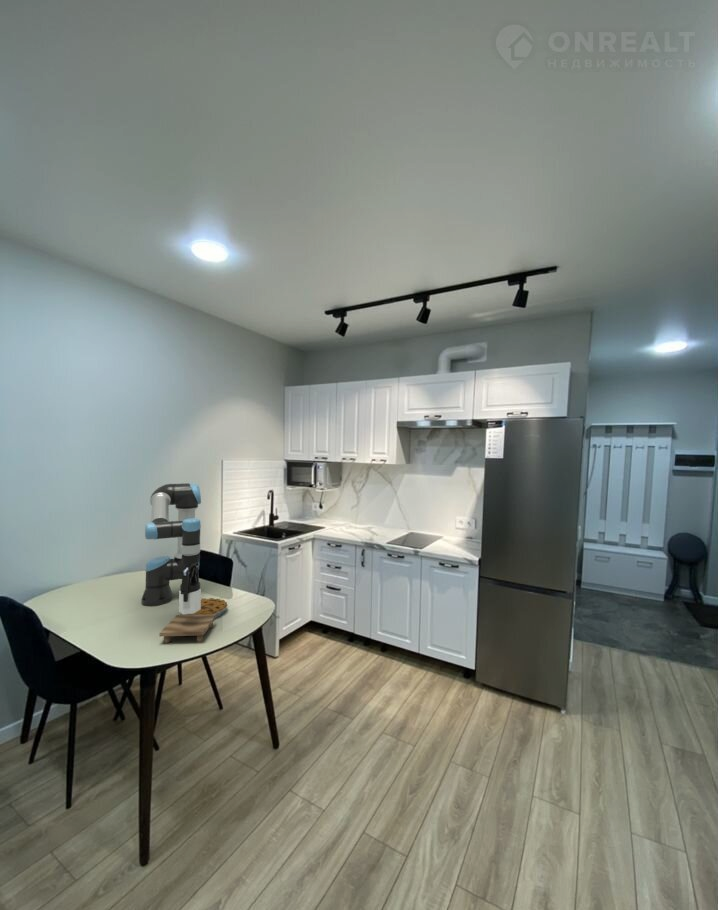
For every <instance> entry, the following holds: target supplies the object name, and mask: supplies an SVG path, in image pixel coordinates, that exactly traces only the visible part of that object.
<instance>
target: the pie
mask: <svg viewBox="0 0 718 910" xmlns="http://www.w3.org/2000/svg"><path fill="white" fill-rule="evenodd" d="M227 607H228V602H227V601H225V600H224V599H221V598H214V597H213V598H212V597H209V598H203V597H201V609H200V610H199V611H197V612H196V613H194V614H185V615H201V614H216V618H219V617H221V616H222V615H223V614H224V612H226V609H227ZM180 615H183V614H182V613H180ZM216 618H215V619H216Z"/></svg>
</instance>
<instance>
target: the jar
mask: <svg viewBox="0 0 718 910" xmlns="http://www.w3.org/2000/svg"><path fill="white" fill-rule="evenodd" d="M181 585H182V583H181V584H180V586H179V589H180V590H178V592H179V593H178V596H179V597H178V612H179V613H180V614H181V613H182V614H183V615H185V614H194V613H196V612H197V611H199V610H200V609H201V599H202V589H201V582H200V581H199V582H198V581H191V584H190V591H189V593H190V608H189V609H183V594H181ZM182 614H181V615H182Z"/></svg>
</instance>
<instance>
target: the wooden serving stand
mask: <svg viewBox="0 0 718 910" xmlns="http://www.w3.org/2000/svg"><path fill="white" fill-rule="evenodd" d="M215 620H216V614H201V615H182V614H177V615H175V616H174V618H172V619H171V621H170V622H168V624H167V625H166V626H165V627H164V628H163V629H161V631H160V632H159V635H158V636H159V637H163V644H168V643H171V637H185V636H186V637H187V636H196V643H202V642H203V640H204V635H205V634H206V633H207V631H208V630H209V629H212V628H213V627H214V621H215Z"/></svg>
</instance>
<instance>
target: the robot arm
mask: <svg viewBox="0 0 718 910" xmlns="http://www.w3.org/2000/svg"><path fill="white" fill-rule="evenodd" d="M149 502H150V505H151V515H150V516H151V517H150V522H147V523H146V524H145V528H144V529H145V530H144V531H145V533H144V537H145V539H146V540H154V541H155V540H162V539H163V540H164V539H171V538H173V539H174V538H175V539H176V538H177V552H176V553H175V554H174V557H173V558H171V556H169V555H167V556H165V555H164V556H163V555H162V556H157V557H154V558H152V559H149V560H148V561H147V562H146V563H145V589H144V591H143V594H142V597H141V601H140V602H141V605H142V606H146V607H155V606H161V605H165V604H168V603H170V602H171V601H172V600H173V598H174V597H173V595H174V594H173V592H172V589H171V586H170V585H171V584H170V581H177V580H181V584H182V585H181V584H180V585H181V594H183V609H189V608H190V593H189V591H190V584H191V581H198V582H200V579H199V578H200V576H199V574H200V573H199V570H200V561H201V554H200V552H201V529H202V528H201V527H202V525H201V519H200V518H197V517H196V510H197V509H198V508H199V505H201V503H202V499H201V491H200V486H199V484H198V483H192V482H191V483H189V482H188V483H167V484H164V485H161V486H159V487H158V488H156V489H155V490H154V491H153V492H152V493H151V496H150V499H149ZM174 505H175V506H174ZM170 506H174V508H175V509H176V510H177V511H178V513H177V515H178V517H177V519H178V520H176V521H170V518H169V516H170V514H169V513H170V512H169V511H170V509H169V508H170Z"/></svg>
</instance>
